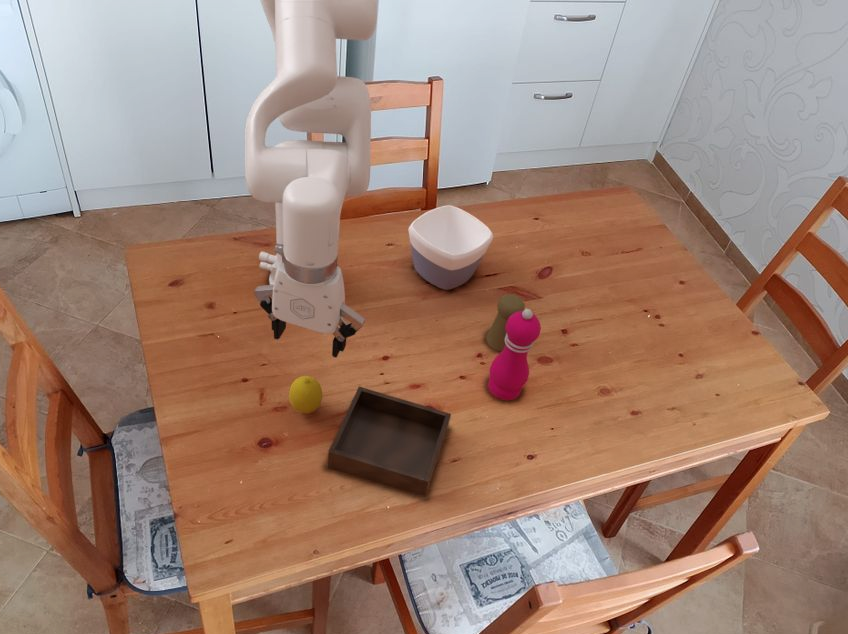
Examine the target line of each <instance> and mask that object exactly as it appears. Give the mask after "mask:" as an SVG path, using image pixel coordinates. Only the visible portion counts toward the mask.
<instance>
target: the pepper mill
mask: <svg viewBox="0 0 848 634" xmlns="http://www.w3.org/2000/svg"><path fill="white" fill-rule="evenodd" d="M541 329H542V325H541V322H540V320H539V319H538V317H537V316H536V315H535V314H534V312H533V311H532V309H530V308H525V310H524V311H519V312H516V313H514V314H512V315H511V316H510V317H509V319H508V320H507V323H506V337H505V344H506V345H505V348H504V349H503V351H502V352H501V351H500V353H499V354H497V355H496V356H495V357H494V359H493V360H492V362H491V364H490V366H489V371H488V372H489V378H488V383H487V387H488V388H487V389H488V390H489V393H491V394H492V396H494V397H495V398H497V399H498V400H501V401H512V400H515V399H516V398H518V397H519V396H520V394H521V392H522V389H523V387H524V386H525V385H526V384H527V382H528V380H529V377H530V365H529V362H528V354H529V351H531V350H532V348H533V346H534V343H535V342H536V340H538V339H539V337H540V335H541Z"/></svg>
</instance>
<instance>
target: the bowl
mask: <svg viewBox="0 0 848 634" xmlns="http://www.w3.org/2000/svg"><path fill="white" fill-rule="evenodd" d="M407 230H408V231H407V232H408V237H409V242H410V248H411V255H412V262H413V268H414V270H415V271H416V273H417V274H418V275H419V276H420V277H422V278H423V280H425V281H427V282H428V283H430V284H431V285H433V286H435V287H437V288H439V289H441V290H445V291H448V290H452V289H455V288H457V287H460V286H462V285H463V284H465V283H467V282H468V281H469V280H470V279H471V278H472V277H473V276H474V274H475V272H476V271H477V268H478V267H479V265H480V263H481V261H482V259H483V257H484V256H485V254H486V253H487V250H488V249H489V247H490V245H491V243H492V242H493V239H494V234H493V232H492V230H491V229H490V228H489V227H488V226H487V225H486V224H485V223H484V222H482V221H481V219H478V218H477V217H475V216H474V215H472V214H470V213H469V212H468V211H466V210H464V209H462V208H459V207H457V206H455V205H451V204H449V205H443V206H442V205H441V206H439V207H436V208H432V209H430V210H428V211H426V212H424V213H423V214H421V215H420V216H419V217H417V218H416V219H415V220H413V221H412V222H411V223H410V225H409V227H408V228H407Z"/></svg>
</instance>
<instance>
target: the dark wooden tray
mask: <svg viewBox="0 0 848 634" xmlns="http://www.w3.org/2000/svg"><path fill="white" fill-rule="evenodd" d="M451 417H452V414H451V413H449V412H446V411H443V410H440V409H436V408H433V407H430V406H427V405H423V404H420V403H416V402H414V401H413V402H412V401H410V400H405V399H403V398H400V397H396V396H392V395H389V394H385V393H382V392H379V391H376V390H372V389H369V388H366V387H362V386H358V387H357V389H356V392H355V394H354V396H353V398H352V400H351V402H350V404H349V406H348V408H347V411H346V412H345V415H344V417H343V419H342V421H341V424H340V425H339V428H338V430H337V432H336V434H335V436H334V438H333V441H332V443H331V445H330V447H329V449H328V453H327V454H328V455H327V468H330V469H333V470H335V471H339V472H343V473H346V474H349V475H353V476H356V477H359V478H362V479H365V480H369V481H371V482H375V483H377V484H382V485H385V486H388V487H391V488H394V489H395V488H396V489H398V490H402V491H405V492H408V493H412V494H415V495H418V496H421V497H426V496H427V493H428V489H429V488H430V484H431V481H432V478H433V474H434V471H435V468H436V465H437V462H438V459H439V456H440V452H441V450H442V447H443V444H444V441H445V437H446V435H447V432H448V428H449V424H450V421H451Z"/></svg>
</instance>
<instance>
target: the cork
mask: <svg viewBox="0 0 848 634" xmlns="http://www.w3.org/2000/svg"><path fill="white" fill-rule="evenodd" d="M496 304H497V305H496V306H497V307H496V308H497V314H496V316H495V317H494V320H493V322H492V324H491V327H490V328H489V330H488V332H487V335H486V338H485V340H486V343H487V345H488V346H489V347H490V348H492V349H493V350H494V351H497V352H500V353H501V352H502V351H503V349H504V348H505V345H506V344H505V337H506V323H507V320H508V319H509V317H510V316H511V315H512V314H514V313H516V312H519V311H524V310H525V309H526V305H525V302H524V300H523V299H522V298H521V296H518V295H516V294H513V293H507V294H504V295H502V296H501V297H500V298H499V300H498V302H497V303H496Z"/></svg>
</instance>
